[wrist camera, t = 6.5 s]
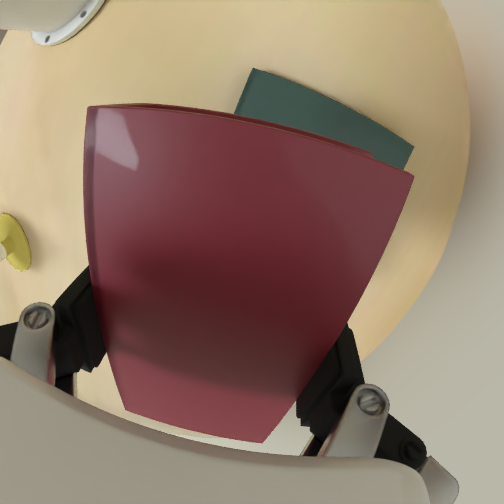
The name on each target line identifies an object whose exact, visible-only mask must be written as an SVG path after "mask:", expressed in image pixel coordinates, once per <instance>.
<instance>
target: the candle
mask: <svg viewBox="0 0 504 504" xmlns="http://www.w3.org/2000/svg"><path fill="white" fill-rule="evenodd" d="M4 258H6V259H7V261H8V262H9V263H10V264H11V265H12V266H13V267H14V268H15V269H17V270H20V271H24V270H27V269H28V268H29V266H30V264H31V252H30V248H29V244H28V241H27V238H26V236H25V234H24V231H23V229H22V228H21V226H20V225H19V223H18V222H17V220H16V219H14V218H13V217H12V216H11V215H10V214H6V213H3V214H1V215H0V262H1V261H2V260H3V259H4Z"/></svg>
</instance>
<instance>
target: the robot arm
mask: <svg viewBox="0 0 504 504" xmlns="http://www.w3.org/2000/svg"><path fill="white" fill-rule="evenodd" d="M104 1H105V0H0V29H9V30H24V31H30V33H31V36H32V39H33V40H34V41H35V42H36V43H37V44H39V45H44V46H53V45H57V44H60V43H62V42H64V41H66V40H67V39H69V38H70V37H72V36H74V35H75V34H76V33H77V32H78V31H80V30H81V29H82V28H83V27H84V26H85V25H86V24H87V23H88V22H89V21H90V20H91V19H92V17H93V16H94V15H95V14H96V13H97V11H98V10H99V9H100V7H101V6H102V4H103V3H104ZM105 354H106V348H105V344H104V340H103V336H102V332H101V328H100V324H99V319H98V315H97V310H96V305H95V299H94V294H93V288H92V282H91V276H90V269H89V265H88V267H87V268H86V269H85V270H84V271H83V272H82V273H81V274H80V275H79V276H78V277H77V278H76V279H75V280H74V281H73V282H72V284H71V285H70V286H69V287H68V288H67V289H66V290H65V291H64V292H63V294H62V295H61V296H60V297H59V298H58V299H57V300H56V301H55V304H54V305H53V306H52V307H51V306H50V305H49V304H47V303H43V302H38V303H33V304H31V305H29V306H27V307H26V308H25V309H24V310H23V311H22V313H21V315H20V318H19V322H15V323H10V324H6V325H2V326H0V504H453V503H454V501H455V500H456V498H457V496H458V493H459V484H458V481H457V480H456V479H455V478H454V477H453V476H452V475H451V474H450V473H449V472H448V471H447V470H446V469H445V468H443V467H442V466H441V465H440V464H439V463H438V462H437V461H436V460H435V459H434V458H432V456H429V457H427V456H426V455H427V451H426V446H425V445H424V443H423V441H422V440H421V439H420V438H418V437H417V436H416V435H415V434H414V433H412V432H411V431H410V430H409V429H407V428H406V427H405V426H404V425H402V424H401V423H400V422H399V421H397V420H396V419H395V418H394V417H393V416H391V415H390V414H389V413H388V412H389V406H390V403H389V399H388V397H387V395H386V393H385V392H384V391H383V390H382V389H381V388H379V387H377V386H375V385H373V384H365V382H364V377H363V372H362V369H361V363H360V359H359V355H358V351H357V347H356V342H355V338H354V335H353V332H352V330H351V329H350V328H349V327H348V323H346V325H345V327H344V328H343V330H342V332H341V333H340V335H339V337H338V338H337V340H336V342H335V343H334V345H333V347H332V348H331V349H330V351H329V352H328V354H327V356H326V357H325V359H324V360H323V362H322V363H321V365H320V366H319V368H318V369H317V371H316V372H315V374H314V375H313V377H312V378H311V380H310V381H309V383H308V384H307V385H306V387H305V388H304V390H303V391H302V393H301V394H300V395H299V397H298V398H297V399H296V416H297V418H301V426H308V427H310V432H312V433H313V434H312V436H311V438H310V439H309V441H308V443H307V445H306V446H305V448H304V449H303V451H302V452H301V454H300V456H292V455H291V456H290V455H278V454H268V453H259V452H251V451H245V450H238V449H232V448H226V447H221V446H216V445H211V444H207V443H202V442H197V441H193V440H189V439H185V438H182V437H178V436H174V435H171V434H167V433H164V432H161V431H157V430H154V429H151V428H148V427H145V426H142V425H139V424H136V423H134V422H131V421H128V420H126V419H123V418H120V417H118V416H115V415H113V414H110V413H108V412H106V411H103V410H101V409H99V408H96V407H94V406H92V405H90V404H88V403H86V402H83V401H81V400H79V399H77V372H79V370H80V369H83V370H85V371H87V372H90V373H91V372H92V370H93V368H94V367H98V366H99V364H100V363H101V361H102V359H103V357H104V355H105Z"/></svg>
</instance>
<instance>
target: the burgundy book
mask: <svg viewBox="0 0 504 504" xmlns="http://www.w3.org/2000/svg"><path fill="white" fill-rule="evenodd" d="M372 156H373V153H371V152H369V151H366V150H363V149H361V148H358V147H355V146H352V145H349V144H346V143H343V142H340V141H337V140H334V139H331V138H328V137H325V136H322V135H318V134H315V133H311V132H308V131H304V130H301V129H297V128H293V127H289V126H286V125H282V124H278V123H273V122H269V121H265V120H260V119H256V118H251V117H246V116H241V115H236V114H230V113H224V112H218V111H212V110H205V109H198V108H191V107H183V106H174V105H163V104H151V103H132V104H112V105H99V106H89V107H88V108H87V116H86V127H85V140H84V163H83V196H84V219H85V233H86V244H87V253H88V261H89V269H90V276H91V282H92V288H93V294H94V299H95V305H96V310H97V315H98V319H99V324H100V328H101V332H102V336H103V340H104V344H105V348H106V352H107V355H108V359H109V362H110V366H111V369H112V372H113V375H114V379H115V382H116V385H117V388H118V391H119V394H120V396H121V399H122V402H123V405H124V407H125V410H127V411H130V412H132V413H135V414H138V415H141V416H144V417H147V418H150V419H153V420H156V421H159V422H162V423H166V424H169V425H173V426H176V427H180V428H184V429H188V430H192V431H196V432H200V433H204V434H209V435H214V436H219V437H224V438H229V439H235V440H242V441H248V442H255V443H263V442H264V441H265V440H266V438H267V437H268V436H269V435H270V433H271V432H272V431H273V430H274V428H275V427H276V426H277V425H278V424H279V422H280V421H281V420H282V418H283V417H284V416H285V415H286V413H287V412H288V411H289V409H290V408H291V407H292V405H293V404H294V403H295V401H296V399H297V398H298V397H299V395H300V394H301V393H302V391H303V390H304V388H305V387H306V385H307V384H308V383H309V381H310V380H311V378H312V377H313V375H314V374H315V372H316V371H317V369H318V368H319V366H320V365H321V363H322V362H323V360H324V359H325V357H326V356H327V354H328V352H329V351H330V349H331V348H332V347H333V345H334V343H335V342H336V340H337V338H338V337H339V335H340V333H341V332H342V330H343V328H344V327H345V325H346V323H347V322H348V320H349V318H350V316H351V315H352V313H353V311H354V309H355V307H356V306H357V304H358V302H359V300H360V298H361V296H362V295H363V293H364V291H365V289H366V287H367V285H368V283H369V281H370V279H371V277H372V275H373V273H374V271H375V269H376V267H377V265H378V263H379V261H380V259H381V257H382V255H383V253H384V250H385V248H386V246H387V244H388V242H389V239H390V237H391V235H392V233H393V230H394V228H395V226H396V223H397V221H398V218H399V216H400V214H401V211H402V209H403V206H404V204H405V201H406V198H407V196H408V193H409V191H410V188H411V185H412V182H413V180H414V175H412V174H410V173H409V172H406V171H404V170H402V169H399V168H397V167H394V166H392V165H390V164H387V163H385V162H382V161H379V160H377V159H374V158H372Z"/></svg>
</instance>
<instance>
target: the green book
mask: <svg viewBox="0 0 504 504" xmlns="http://www.w3.org/2000/svg"><path fill="white" fill-rule="evenodd" d="M234 114H236V115H241V116H246V117H251V118H256V119H260V120H265V121H269V122H273V123H278V124H282V125H286V126H289V127H293V128H297V129H301V130H304V131H308V132H311V133H315V134H318V135H322V136H325V137H328V138H331V139H334V140H337V141H340V142H343V143H346V144H349V145H352V146H355V147H358V148H361V149H363V150H366V151H369V152H371V153H373V156H372V158H374V159H377V160H379V161H382V162H385V163H387V164H390V165H392V166H394V167H397V168H399V169H402V170H403V169H404V167H405V165H406V163H407V161H408V159H409V157H410V155H411V153H412V150H413V148H414V146H412V145H411V144H410V143H408V142H407V141H405V140H403V139H402V138H400V137H399V136H397V135H396V134H394V133H392V132H391V131H389V130H388V129H386V128H384V127H383V126H381V125H379V124H378V123H376V122H374V121H372V120H371V119H369V118H367V117H365V116H363V115H362V114H360V113H358V112H356V111H354V110H352V109H350V108H348V107H346V106H345V105H343V104H341V103H339V102H336V101H334V100H332V99H330V98H328V97H326V96H324V95H322V94H319V93H317V92H315V91H313V90H310V89H308V88H306V87H303V86H301V85H299V84H296V83H294V82H291V81H289V80H286V79H283V78H281V77H278V76H275V75H273V74H270V73H267V72H264V71H261V70H258V69H255V68H253V69H252V71H251V73H250V76H249V78H248V80H247V83H246V85H245V88H244V90H243V92H242V95H241V97H240V100H239V102H238V105H237V107H236V110H235V112H234Z"/></svg>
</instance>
